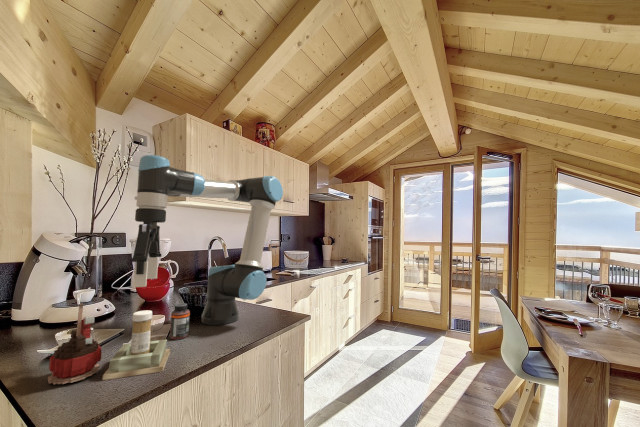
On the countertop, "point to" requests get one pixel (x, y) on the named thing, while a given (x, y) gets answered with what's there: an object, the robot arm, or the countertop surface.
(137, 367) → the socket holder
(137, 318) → the sprinkles bottle
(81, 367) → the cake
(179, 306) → the supplement bottle
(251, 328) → the countertop surface
